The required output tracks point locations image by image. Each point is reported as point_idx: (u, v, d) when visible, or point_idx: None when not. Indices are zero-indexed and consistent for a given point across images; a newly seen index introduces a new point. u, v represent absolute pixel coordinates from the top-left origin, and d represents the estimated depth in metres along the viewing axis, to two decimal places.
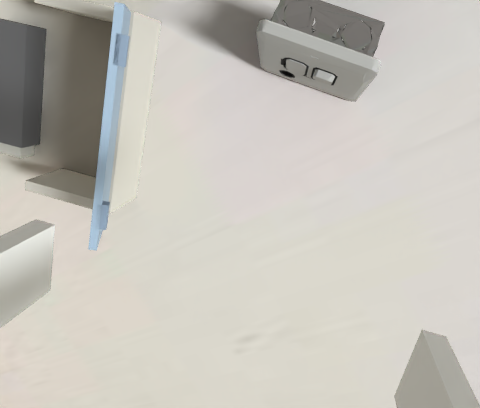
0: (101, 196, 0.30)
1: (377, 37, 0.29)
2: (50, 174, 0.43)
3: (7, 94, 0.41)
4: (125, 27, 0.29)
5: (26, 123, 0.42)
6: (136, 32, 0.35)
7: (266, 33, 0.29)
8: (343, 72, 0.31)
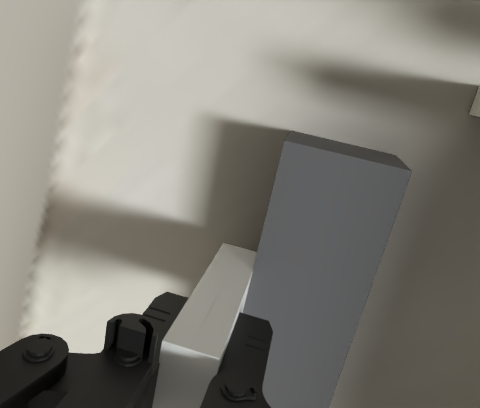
0: None
1: None
2: None
3: (297, 339, 0.15)
4: None
5: None
6: None
7: None
8: None
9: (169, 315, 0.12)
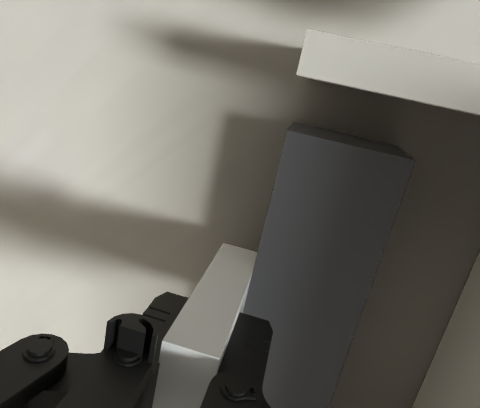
0: None
1: None
2: None
3: (300, 330, 0.15)
4: None
5: None
6: None
7: None
8: None
9: (169, 315, 0.12)
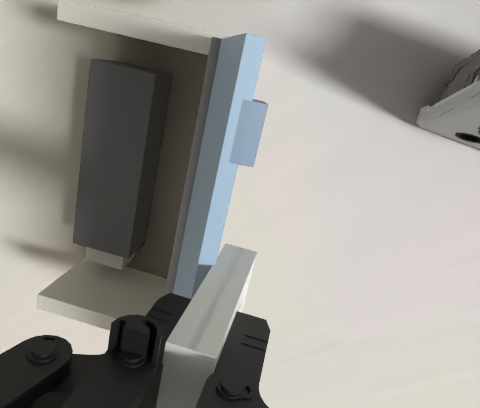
0: None
1: None
2: (73, 272, 0.28)
3: (111, 179, 0.26)
4: None
5: (137, 221, 0.27)
6: None
7: None
8: None
9: (172, 316, 0.12)
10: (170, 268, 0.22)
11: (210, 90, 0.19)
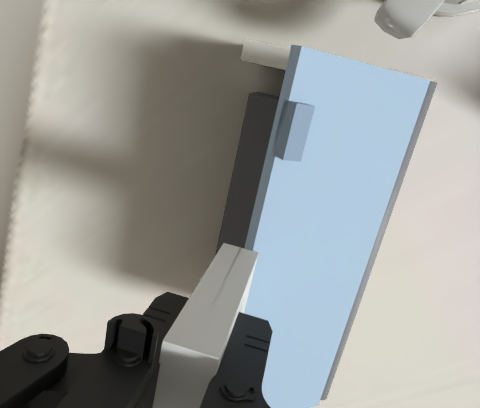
0: None
1: None
2: None
3: None
4: (353, 97, 0.15)
5: None
6: None
7: None
8: None
9: (169, 315, 0.12)
10: None
11: None
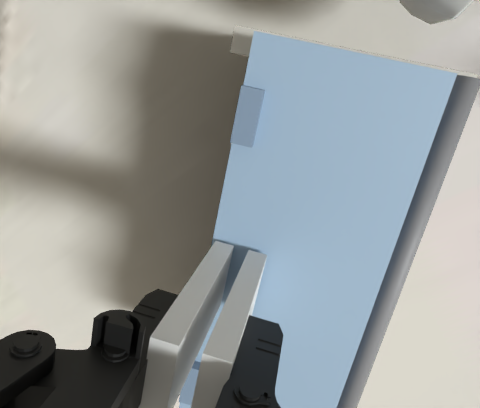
0: None
1: None
2: None
3: None
4: (328, 87, 0.14)
5: None
6: None
7: None
8: None
9: (159, 312, 0.12)
10: None
11: (432, 140, 0.15)
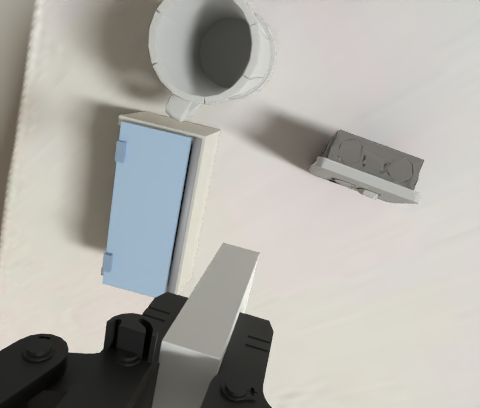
0: (107, 246, 0.43)
1: (417, 171, 0.35)
2: None
3: None
4: (148, 141, 0.39)
5: None
6: (205, 150, 0.40)
7: (324, 168, 0.35)
8: (387, 196, 0.36)
9: (169, 315, 0.12)
10: None
11: (190, 160, 0.39)
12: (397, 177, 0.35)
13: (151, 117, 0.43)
